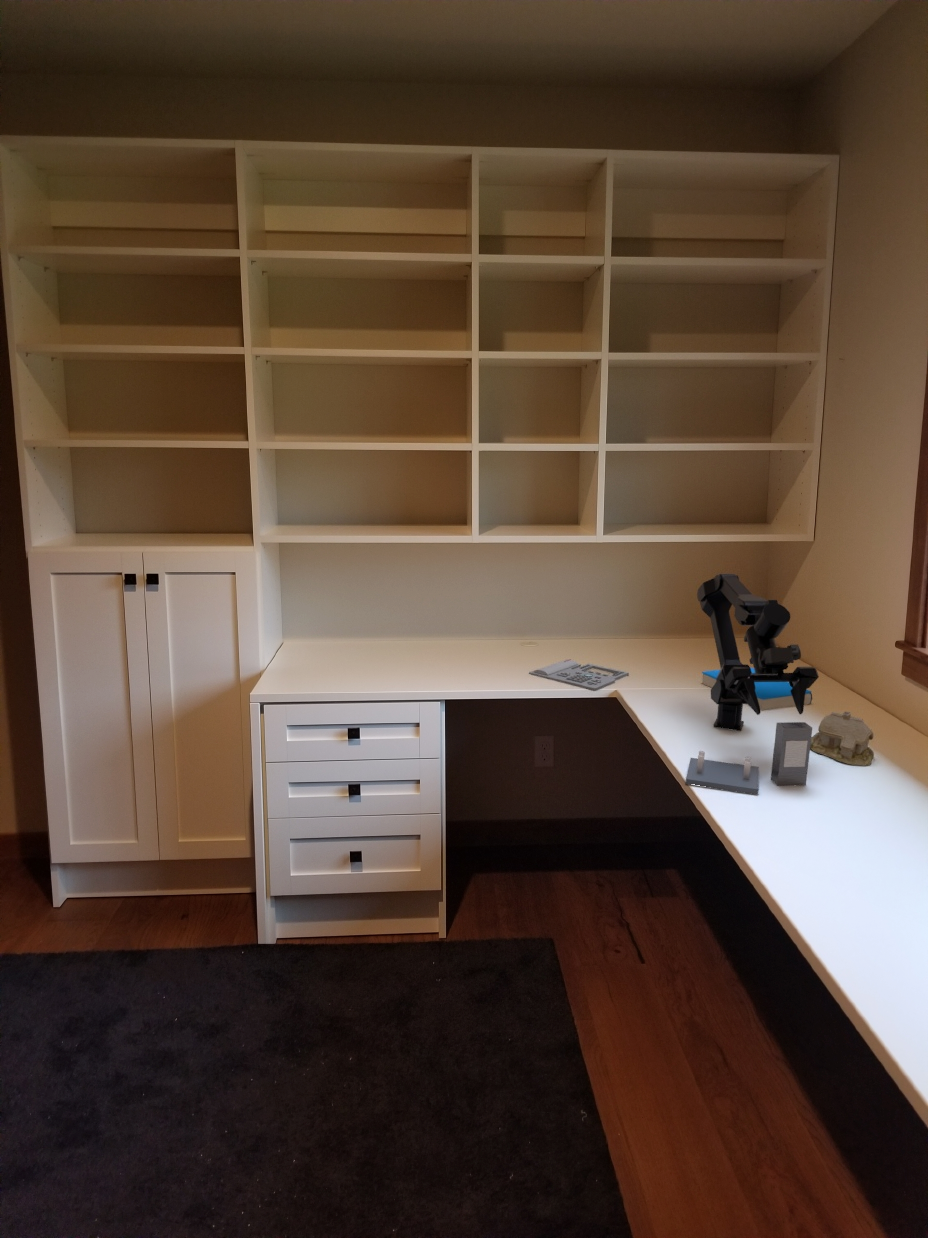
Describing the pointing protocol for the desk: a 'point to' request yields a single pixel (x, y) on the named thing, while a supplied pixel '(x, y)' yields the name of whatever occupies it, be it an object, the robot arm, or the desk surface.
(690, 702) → the desk surface
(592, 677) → the office telephone
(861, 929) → the desk surface
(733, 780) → the grey pegged stand
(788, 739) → the block
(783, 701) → the book
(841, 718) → the ceramic model
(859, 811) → the desk surface
